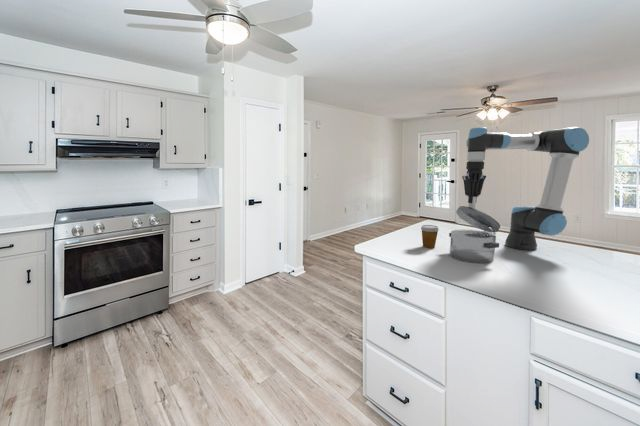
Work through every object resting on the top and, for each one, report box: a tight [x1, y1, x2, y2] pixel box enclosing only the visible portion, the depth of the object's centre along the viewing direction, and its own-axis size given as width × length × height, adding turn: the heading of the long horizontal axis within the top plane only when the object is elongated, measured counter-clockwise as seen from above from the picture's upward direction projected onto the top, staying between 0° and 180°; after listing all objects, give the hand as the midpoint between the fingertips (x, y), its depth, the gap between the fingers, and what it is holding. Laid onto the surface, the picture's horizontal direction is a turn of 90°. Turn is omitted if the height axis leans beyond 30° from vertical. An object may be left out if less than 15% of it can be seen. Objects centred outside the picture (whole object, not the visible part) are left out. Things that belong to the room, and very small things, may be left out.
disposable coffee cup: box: [420, 224, 440, 250], centre depth 169 cm, size 10×10×12 cm
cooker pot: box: [448, 228, 500, 264], centre depth 151 cm, size 22×25×12 cm
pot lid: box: [455, 205, 501, 233], centre depth 150 cm, size 21×21×4 cm
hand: (471, 209), depth 147 cm, fingers closed
